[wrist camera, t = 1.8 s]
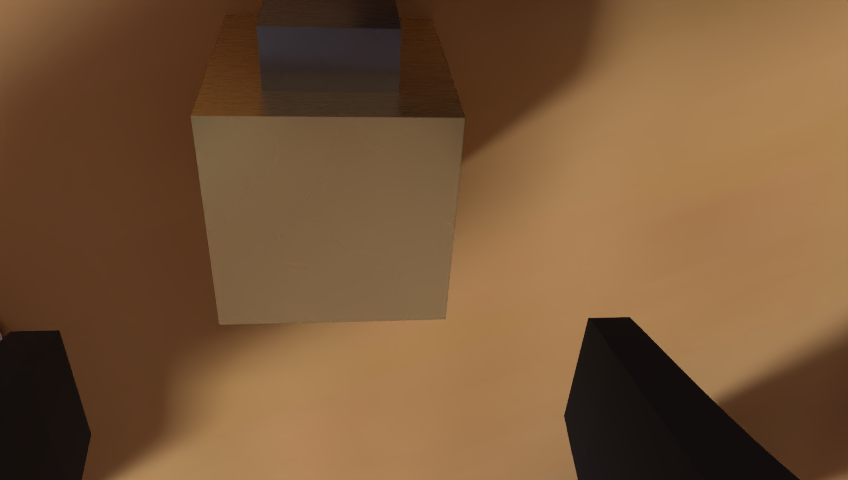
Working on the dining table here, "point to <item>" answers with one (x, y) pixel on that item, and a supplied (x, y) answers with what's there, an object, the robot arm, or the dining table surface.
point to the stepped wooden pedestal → (328, 164)
